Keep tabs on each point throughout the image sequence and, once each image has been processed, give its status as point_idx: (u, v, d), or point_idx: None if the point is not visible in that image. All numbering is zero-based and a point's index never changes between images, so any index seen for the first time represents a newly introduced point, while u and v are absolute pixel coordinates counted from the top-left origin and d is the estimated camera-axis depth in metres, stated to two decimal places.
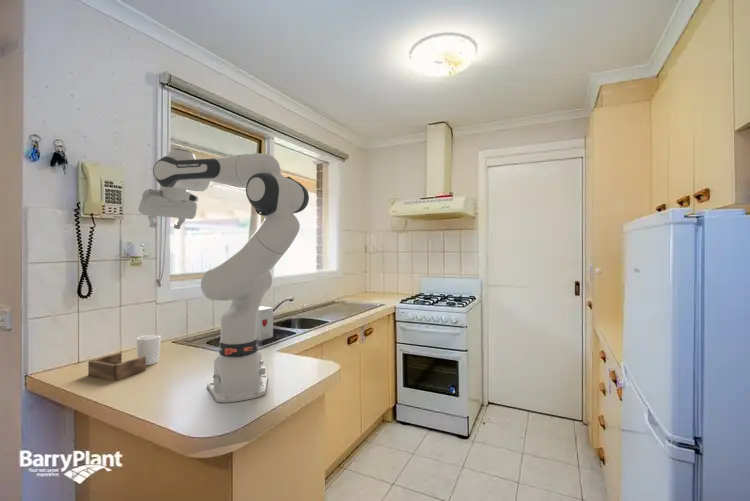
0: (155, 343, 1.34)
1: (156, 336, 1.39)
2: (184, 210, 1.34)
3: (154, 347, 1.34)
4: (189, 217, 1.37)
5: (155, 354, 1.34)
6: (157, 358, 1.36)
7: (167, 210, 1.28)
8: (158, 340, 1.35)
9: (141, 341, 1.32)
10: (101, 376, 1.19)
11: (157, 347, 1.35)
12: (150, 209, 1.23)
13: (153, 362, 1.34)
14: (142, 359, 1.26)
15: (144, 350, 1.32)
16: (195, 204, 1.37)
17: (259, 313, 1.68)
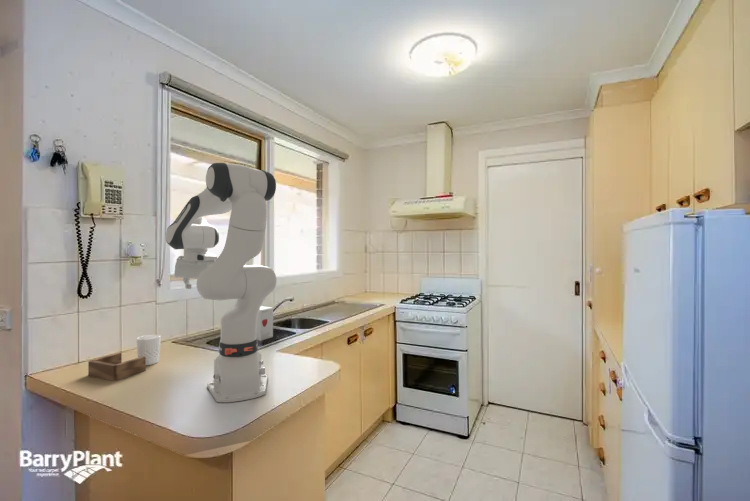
0: (155, 343, 1.34)
1: (156, 336, 1.39)
2: (201, 270, 1.43)
3: (154, 347, 1.34)
4: None
5: (155, 354, 1.34)
6: (157, 358, 1.36)
7: (188, 271, 1.45)
8: (158, 340, 1.35)
9: (141, 341, 1.32)
10: (101, 376, 1.19)
11: (157, 347, 1.35)
12: (177, 272, 1.48)
13: (153, 362, 1.34)
14: (142, 359, 1.26)
15: (144, 350, 1.32)
16: (206, 263, 1.41)
17: (259, 313, 1.68)
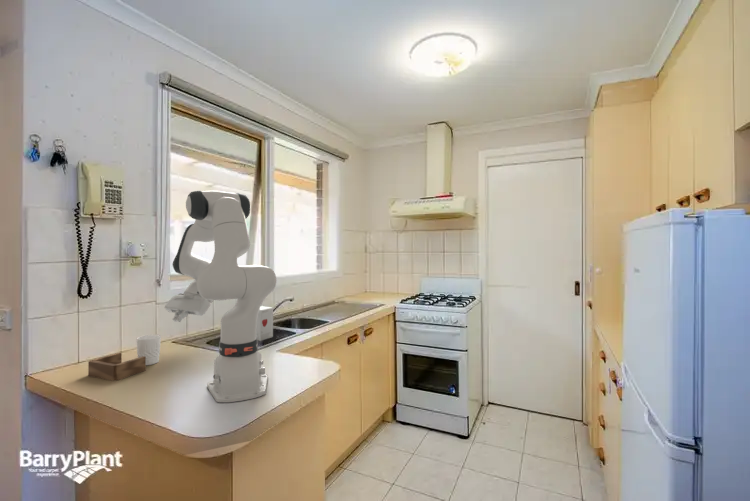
0: (155, 343, 1.34)
1: (156, 336, 1.39)
2: (193, 303, 1.49)
3: (154, 347, 1.34)
4: (194, 309, 1.47)
5: (155, 354, 1.34)
6: (157, 358, 1.36)
7: (180, 303, 1.51)
8: (158, 340, 1.35)
9: (141, 341, 1.32)
10: (101, 376, 1.19)
11: (157, 347, 1.35)
12: (169, 303, 1.53)
13: (153, 362, 1.34)
14: (142, 359, 1.26)
15: (144, 350, 1.32)
16: (202, 297, 1.50)
17: (259, 313, 1.68)
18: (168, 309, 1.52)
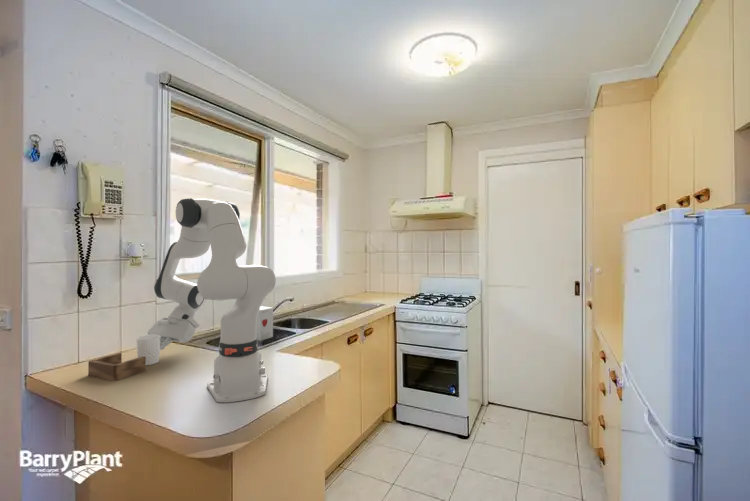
0: (155, 343, 1.34)
1: (156, 336, 1.39)
2: (177, 330, 1.42)
3: (154, 347, 1.34)
4: (178, 336, 1.39)
5: (155, 354, 1.34)
6: (157, 358, 1.36)
7: (164, 330, 1.44)
8: (158, 340, 1.35)
9: (141, 341, 1.32)
10: (101, 376, 1.19)
11: (157, 347, 1.35)
12: (152, 329, 1.46)
13: (153, 362, 1.34)
14: (142, 359, 1.26)
15: (144, 350, 1.32)
16: (187, 323, 1.42)
17: (259, 313, 1.68)
18: None
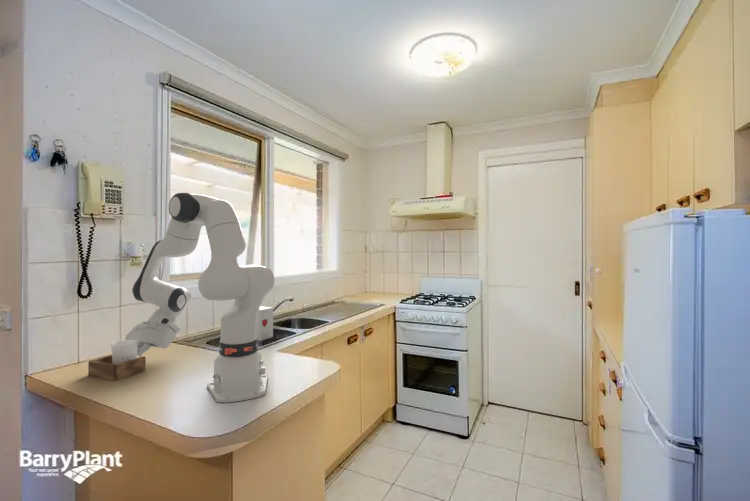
0: (131, 349, 1.25)
1: (133, 342, 1.31)
2: (156, 335, 1.33)
3: (129, 353, 1.25)
4: (157, 342, 1.31)
5: None
6: None
7: (142, 334, 1.35)
8: (134, 346, 1.26)
9: (115, 347, 1.23)
10: (101, 376, 1.19)
11: (133, 354, 1.26)
12: (130, 334, 1.37)
13: None
14: (142, 359, 1.26)
15: (119, 357, 1.23)
16: (166, 328, 1.34)
17: (259, 313, 1.68)
18: None
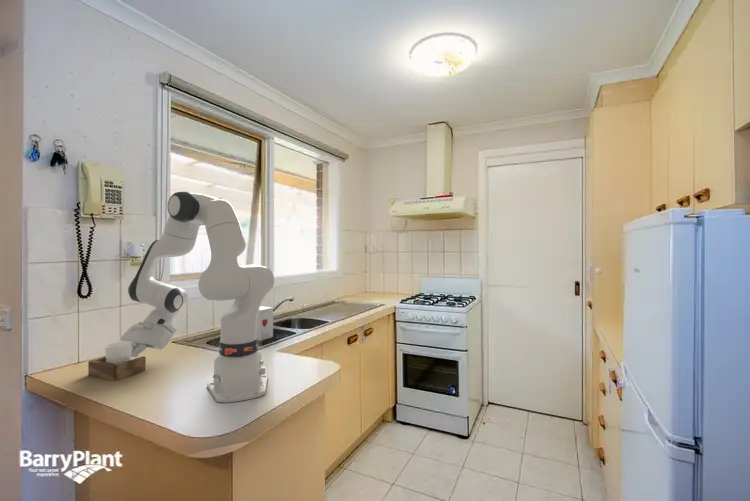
0: (125, 351, 1.24)
1: (128, 343, 1.29)
2: (152, 335, 1.32)
3: (123, 355, 1.23)
4: (153, 342, 1.29)
5: None
6: None
7: (138, 335, 1.34)
8: (128, 347, 1.25)
9: (109, 349, 1.21)
10: (101, 376, 1.19)
11: (127, 355, 1.24)
12: (126, 334, 1.35)
13: None
14: (142, 359, 1.26)
15: (113, 359, 1.21)
16: (163, 328, 1.32)
17: (259, 313, 1.68)
18: (124, 341, 1.34)
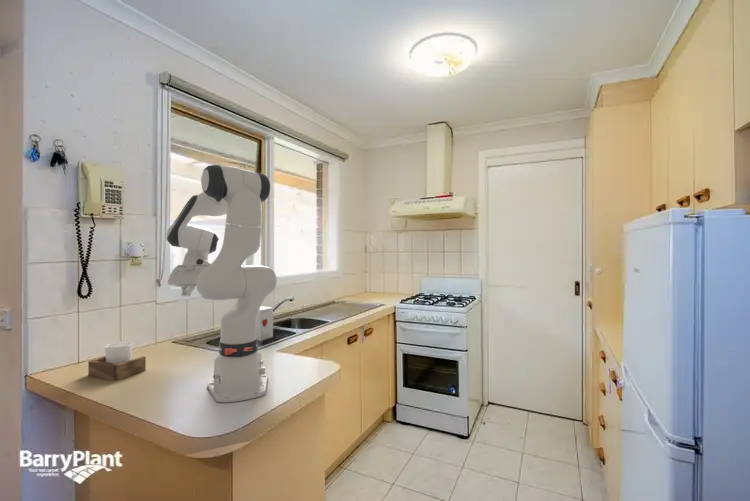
0: (125, 351, 1.23)
1: (128, 343, 1.29)
2: (196, 275, 1.42)
3: (123, 355, 1.23)
4: None
5: None
6: None
7: (183, 277, 1.44)
8: (128, 347, 1.25)
9: (109, 349, 1.21)
10: (101, 376, 1.19)
11: (127, 355, 1.24)
12: (171, 278, 1.46)
13: None
14: (142, 359, 1.26)
15: (113, 359, 1.21)
16: (204, 268, 1.41)
17: (259, 313, 1.68)
18: (172, 285, 1.45)
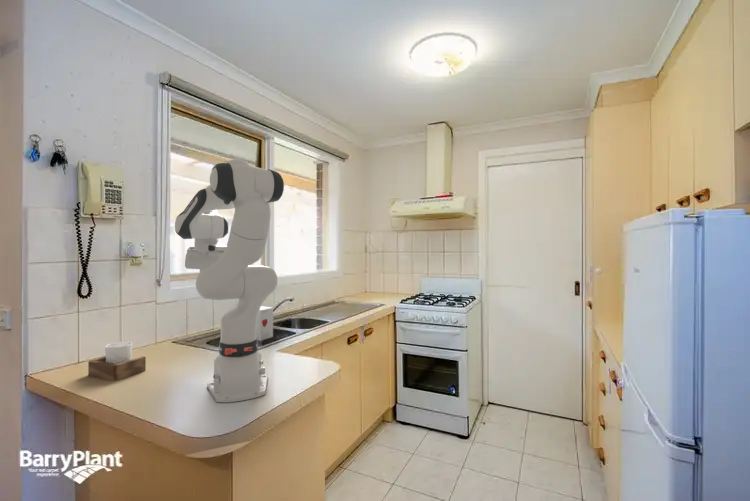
0: (125, 351, 1.23)
1: (128, 343, 1.29)
2: (212, 261, 1.41)
3: (123, 355, 1.23)
4: None
5: None
6: None
7: (199, 262, 1.44)
8: (128, 347, 1.25)
9: (109, 349, 1.21)
10: (101, 376, 1.19)
11: (127, 355, 1.24)
12: (187, 263, 1.46)
13: None
14: (142, 359, 1.26)
15: (113, 359, 1.21)
16: (217, 254, 1.39)
17: (259, 313, 1.68)
18: (190, 268, 1.47)
